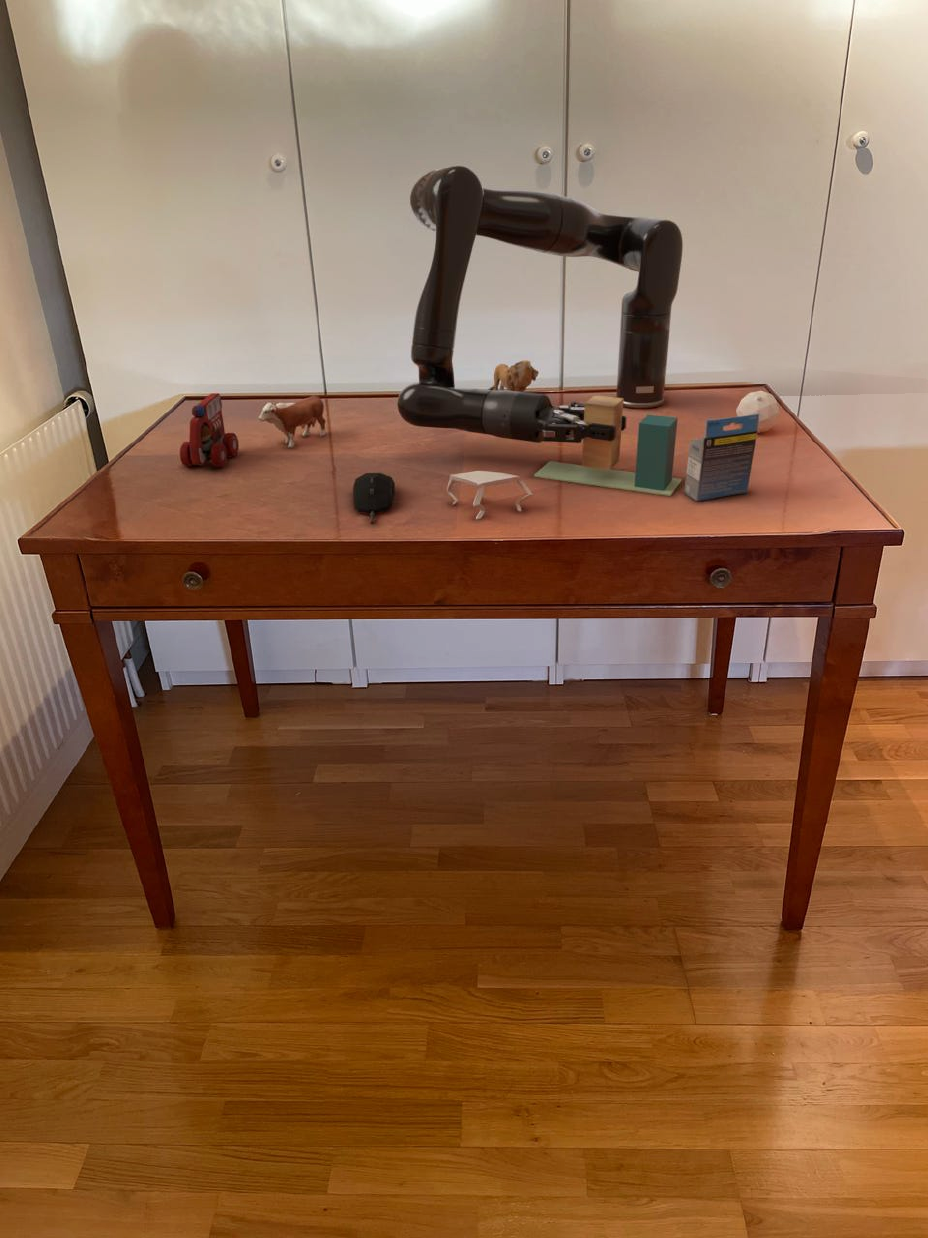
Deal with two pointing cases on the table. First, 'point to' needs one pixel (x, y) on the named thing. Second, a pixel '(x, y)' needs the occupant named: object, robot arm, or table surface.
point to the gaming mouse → (373, 493)
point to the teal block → (655, 452)
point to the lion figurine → (514, 376)
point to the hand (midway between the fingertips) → (619, 428)
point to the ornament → (760, 409)
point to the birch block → (603, 451)
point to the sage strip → (599, 477)
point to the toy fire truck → (208, 435)
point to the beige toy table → (485, 485)
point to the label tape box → (721, 459)
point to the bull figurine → (295, 416)
